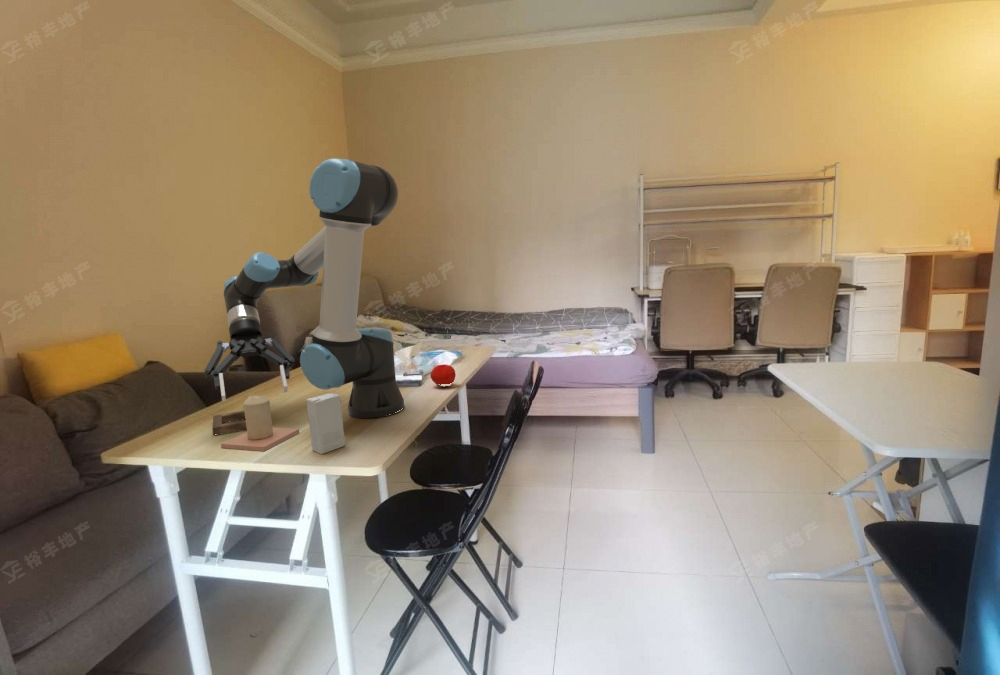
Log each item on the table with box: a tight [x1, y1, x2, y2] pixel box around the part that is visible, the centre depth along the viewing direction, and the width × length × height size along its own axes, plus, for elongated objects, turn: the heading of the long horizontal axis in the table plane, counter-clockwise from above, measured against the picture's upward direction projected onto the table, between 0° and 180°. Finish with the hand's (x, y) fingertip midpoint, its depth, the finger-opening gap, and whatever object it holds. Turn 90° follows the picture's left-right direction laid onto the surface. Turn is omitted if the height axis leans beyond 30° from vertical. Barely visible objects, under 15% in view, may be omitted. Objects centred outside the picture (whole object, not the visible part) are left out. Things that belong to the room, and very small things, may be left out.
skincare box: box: [306, 392, 346, 455], centre depth 112 cm, size 6×4×12 cm
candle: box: [243, 394, 273, 440], centre depth 120 cm, size 6×6×10 cm
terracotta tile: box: [220, 426, 300, 452], centre depth 120 cm, size 12×12×1 cm
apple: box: [430, 363, 456, 385], centre depth 162 cm, size 8×8×7 cm
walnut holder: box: [212, 410, 247, 436], centre depth 133 cm, size 12×12×2 cm
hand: (255, 394), depth 122 cm, fingers open, 13 cm apart
